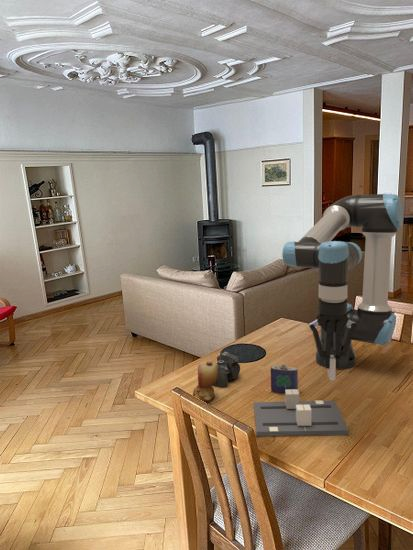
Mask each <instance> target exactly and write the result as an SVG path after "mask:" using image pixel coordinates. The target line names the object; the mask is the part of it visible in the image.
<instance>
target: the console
mask: <svg viewBox="0 0 413 550" xmlns="http://www.w3.org/2000/svg"><path fill="white" fill-rule="evenodd" d="M309 404H310V407H311V426H297V422H296V409H286V404H285V401H253V414H254V422H255V431H256V433H255V434H256V437H288V436H289V437H292V436H293V437H294V436H295V437H297V436H298V437H299V436H300V437H302V436H306V437H308V436H311V437H312V436H348V435H349V429H348V427H347V424H346V422H345V420H344V418H343V416H342V413H341V411H340V409H339V407H338V405H337V402H336V401H335V400H301V401H300V400H299V405H309Z"/></svg>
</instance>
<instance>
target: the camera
mask: <svg viewBox="0 0 413 550" xmlns="http://www.w3.org/2000/svg"><path fill="white" fill-rule="evenodd" d="M216 358H217V359H216V360H217V362H216V363H217V365H218V378H217V381H216V383H215V384H214V385H213V386H216V387H219V388H227V386H228V382H229V380H233V379H237V378H238V377H239V375H240V372H241V365H240V363H239V356H237V355H235V354H232V353H229V352H227V351H224V352H223V353H221V354H220V355H218V356H217V357H216Z"/></svg>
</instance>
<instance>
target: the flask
mask: <svg viewBox="0 0 413 550" xmlns="http://www.w3.org/2000/svg"><path fill="white" fill-rule="evenodd" d="M286 365H287V363H286V362H283V363H282V364H281V365H280V366H279V365H276V364H275V365H272V366H271V367H270V388H271V390H270V391H271V392H272V393H274V394H283V395H285V390H289V389H298V390H299V385H298V384H299V382H298V381H299V380H298V378H299V377H298V374H299V373H298V370H299V369H298V367H295V366H294V367H292V366H289V367H287V366H286Z"/></svg>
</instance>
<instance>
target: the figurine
mask: <svg viewBox="0 0 413 550" xmlns="http://www.w3.org/2000/svg"><path fill="white" fill-rule="evenodd" d="M217 378H218V365H217V362H212V360H210V359H209V360H207V361H206V363H200V364H197V385H196V387H195V388H193V392H192V396H193V397H194V396H195V397H197V398H199V399H200V400H202V401H204V402H205V403H208V402H211V401H213V400H214V398H215V389H214V386H215V385H214V384H215V383H216V381H217Z"/></svg>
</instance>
